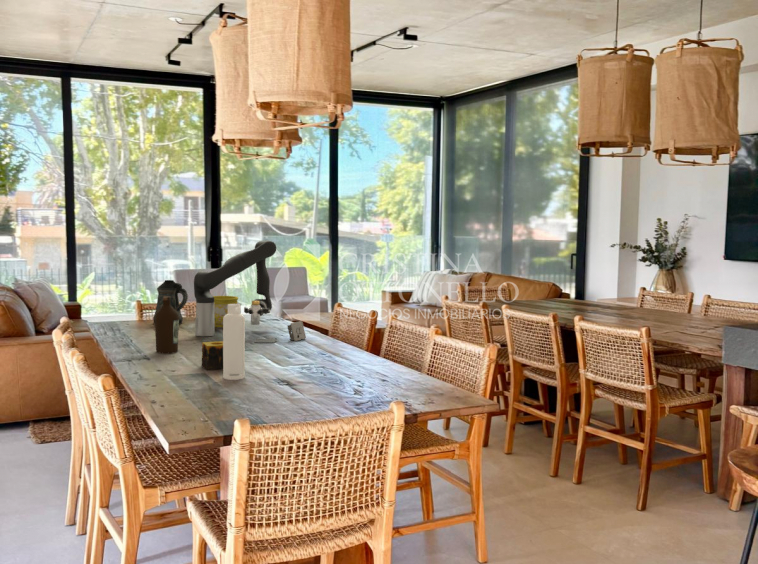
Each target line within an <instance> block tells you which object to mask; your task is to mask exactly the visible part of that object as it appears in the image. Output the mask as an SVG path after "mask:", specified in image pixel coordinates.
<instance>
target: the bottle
mask: <svg viewBox="0 0 758 564" xmlns="http://www.w3.org/2000/svg"><path fill="white" fill-rule="evenodd" d="M245 322H246V317H245V316H244V315H243V314H242V313H241V304H239V303H237V304H228V314H226V315H225V316H224V317H223V327H222V330H223V331H222V332H223V333H222V334H223V335H222V341H223V369H222V371H223V374H222V378H223V379H224V380H229V381H230V380H231V381H237V380H243V379H244V378H245V377H246V375H245V372H246V366H245V365H246V364H245V363H246V361H245V360H246V354H245V353H246V349H245V348H246V346H245V345H246V340H245V339H246V338H245V337H246V336H245V333H246V332H245V331H246V326H245V325H246V323H245Z"/></svg>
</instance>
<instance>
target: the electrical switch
mask: <svg viewBox="0 0 758 564" xmlns="http://www.w3.org/2000/svg"><path fill="white" fill-rule="evenodd" d="M286 327H287V331H288V334H289V338H290V341H294V342H297V341H302V340H301V339H303V340H305V339H304V338H306V339H307V336H306V332H305V327H304V323H303V320H302V321H296V322H291V323H290V325H289V324H288V325H287V326H286Z"/></svg>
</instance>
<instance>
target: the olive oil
mask: <svg viewBox="0 0 758 564" xmlns="http://www.w3.org/2000/svg"><path fill="white" fill-rule="evenodd" d="M154 314H155V313H154ZM154 321H155V324H154V334H155V335H154V337H155V350H156V351H155V352H156V353H157V354H176V353H178V351H179V346H178V345H179V330H180V329H179V325H180V324H179V316H178V313H177V312H176V310H175V309H174V308H173V307H172V306H171V305H170V297H163V306H162V307H161V308H160V309H159V310H158V311H157V312H156V314H155V318H154V320H153V322H154Z"/></svg>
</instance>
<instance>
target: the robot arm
mask: <svg viewBox="0 0 758 564" xmlns="http://www.w3.org/2000/svg"><path fill="white" fill-rule="evenodd" d="M276 251H277V245H276V243H275V242H274V241H272V240H267V239H266V240H259V241H257V242H256V243H255V245H254V249H250V250H247V251H244V252H241V253H237V254H235V255H233V256H231V257H230V258H228V259H227V260H226V261H225V262H224V263H223V265H222V266H220V267H219V268H218V267H217V268H216V269H214V270H211V271H203V270H201V271H198V272H197V273H195V276H194V279H193V292H194V294H193V295H194V298H195V304H196V305H195V309H196V310H195V312H196V313H195V315H196V316H195V319H194V320H195V324H194V325H195V326H194V328H195V329H194V330H195V332H194V334H195V337H211V336H212V337H213V336H215V327H214V297H213V296H214V295H213V294H212V293H211V291H210V290H213V289H215V288H216V287H218V286H219V285H220V284H221V283H223V282H225V281H227V279H230V278H232V277H234V276H236V275H238V274H240V273H242V272H244V271H245V270H247V269H248V268H251V267H252V266H254V265H255V267H256V294H257V295H260V296H264V298H255V299H254V300H253V301H260V310H259V314H260V317H261V316H263V315H267V314H270V313H271V311H272V308H273V303H272V299H271V295H270V286H271V285H270V275H269V273H268V269H267V265H266V264H267V263H266V261H267V260H266V259H269V258H271V257H272V256H274V255H275V253H276ZM243 312H244V313H245V314H246V315H247V314H249V315H251V307H249V308H248V307H246V306H245V307H243Z"/></svg>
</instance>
